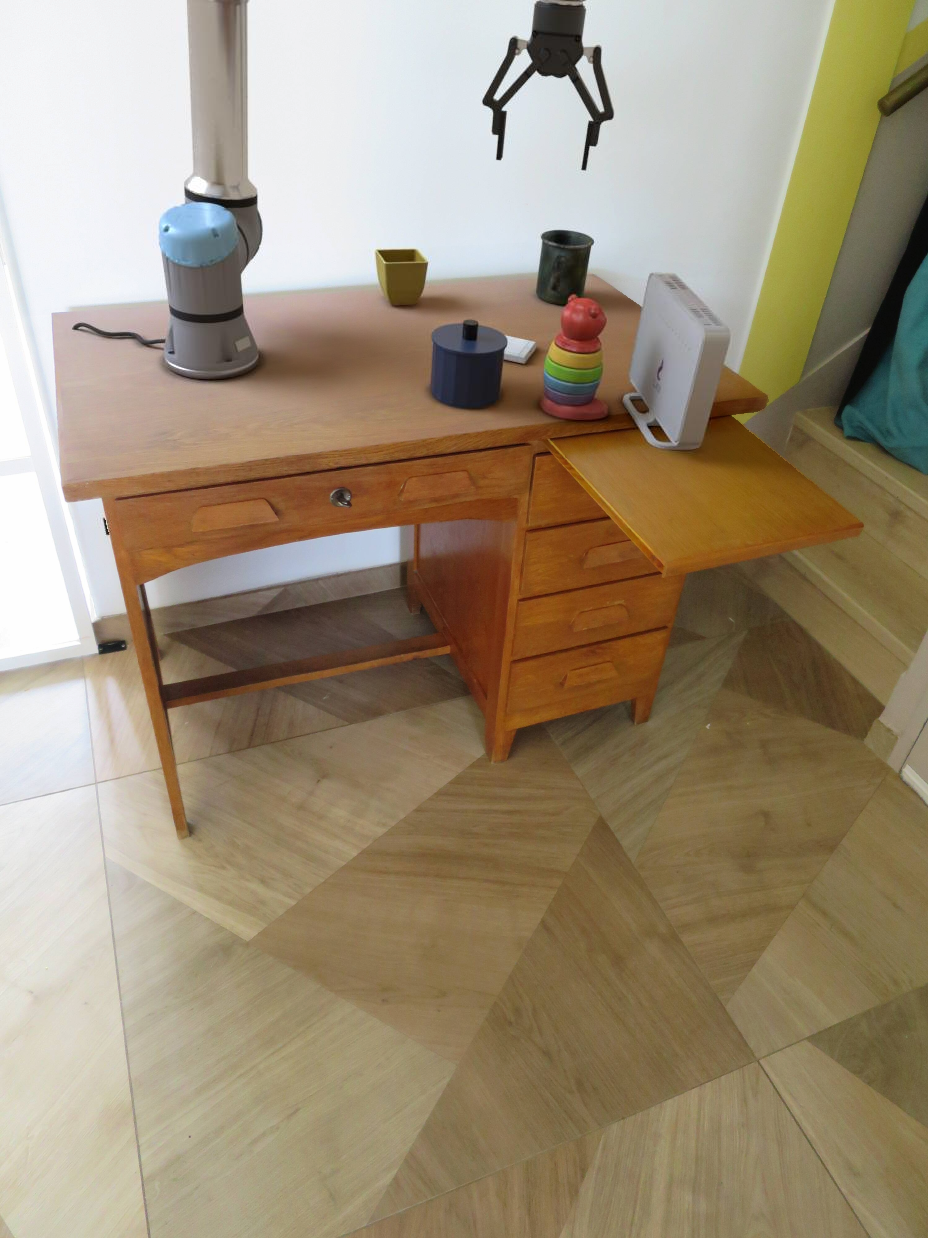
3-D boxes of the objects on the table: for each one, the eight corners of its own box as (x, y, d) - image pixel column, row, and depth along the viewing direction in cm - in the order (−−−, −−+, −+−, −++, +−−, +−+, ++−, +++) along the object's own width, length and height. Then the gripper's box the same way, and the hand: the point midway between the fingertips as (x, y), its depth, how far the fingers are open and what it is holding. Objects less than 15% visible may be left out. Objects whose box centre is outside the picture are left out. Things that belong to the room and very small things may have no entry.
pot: (424, 403, 142) (427, 349, 136) (437, 374, 150) (440, 323, 145) (494, 412, 141) (500, 359, 135) (502, 383, 150) (508, 332, 144)
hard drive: (458, 342, 158) (524, 355, 156) (473, 327, 164) (536, 340, 162) (458, 351, 159) (523, 364, 157) (472, 335, 165) (535, 348, 163)
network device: (613, 387, 152) (636, 268, 139) (661, 387, 154) (688, 270, 141) (659, 460, 133) (691, 330, 120) (714, 460, 134) (751, 332, 121)
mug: (588, 292, 189) (598, 234, 181) (577, 315, 178) (586, 254, 170) (539, 284, 191) (546, 226, 183) (525, 306, 180) (532, 245, 172)
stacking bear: (613, 416, 143) (634, 307, 132) (561, 426, 139) (579, 315, 128) (575, 389, 150) (593, 284, 139) (525, 398, 146) (539, 290, 135)
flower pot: (373, 294, 178) (374, 248, 173) (415, 292, 181) (417, 247, 175) (383, 310, 172) (384, 262, 166) (426, 308, 174) (429, 261, 169)
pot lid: (424, 353, 136) (425, 330, 134) (438, 325, 146) (439, 303, 143) (502, 364, 135) (504, 341, 133) (510, 335, 145) (513, 313, 142)
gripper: (647, 8, 129) (619, 167, 142) (479, -10, 130) (467, 149, 144) (647, 12, 123) (619, 177, 136) (471, -7, 124) (460, 158, 138)
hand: (541, 163), depth 140 cm, fingers open, 13 cm apart
